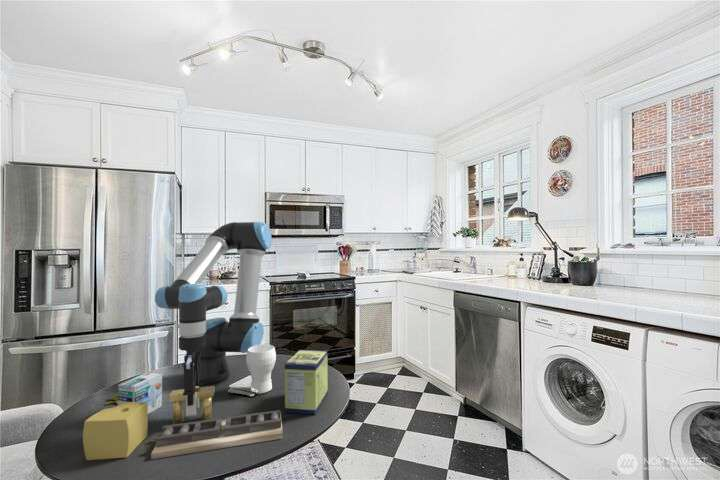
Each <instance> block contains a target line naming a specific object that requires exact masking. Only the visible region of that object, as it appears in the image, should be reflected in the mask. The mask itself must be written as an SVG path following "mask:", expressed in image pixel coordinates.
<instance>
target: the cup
mask: <svg viewBox="0 0 720 480" xmlns="http://www.w3.org/2000/svg"><path fill="white" fill-rule="evenodd" d="M245 356H246V357H245V363H246V366H247V369H248V371H249V373H250V377H251V382H250V388H251V387H252V388H254V389H257V390H258V393H257V394H263V393H268V392H270V391H271V390H272V389H273V384H272V379H271V377H272V371H273V369H274V367H275V363H276V360H277V353H276V347H275V346H274V345H271V344H260V345H257V346H253V347H250V348H249V349H248V351H247V353H246V355H245Z"/></svg>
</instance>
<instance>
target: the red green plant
mask: <svg viewBox="0 0 720 480" xmlns="http://www.w3.org/2000/svg"><path fill="white" fill-rule="evenodd" d="M108 400H109V401H108ZM106 401H107V402H106V403H105V404H104V406H106V405H110V404H114V403H116V404H117V405H116V404H115V405H116V406H118V393H116V394H115V395H113V396H111V397H109V398H107V399H106Z"/></svg>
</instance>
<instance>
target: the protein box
mask: <svg viewBox="0 0 720 480" xmlns="http://www.w3.org/2000/svg"><path fill="white" fill-rule="evenodd" d="M328 376H329V375H328V350H318V349H316V350H314V349H313V350H312V349H299V350H298V351H297V352H296V353H295V354H294V355H293V356H292V357H291V358H290V359H288V360H287V361H286V362H285V363H284V413H289V414H303V415H304V414H305V415H316V414H317V413H318V411H319V409H320V408H321V406H322V405H323V402H324V401H325V399H326V397H327V396H328V394H329V393H328V386H329V385H328V382H329V381H328V380H329V379H328Z"/></svg>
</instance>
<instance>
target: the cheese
mask: <svg viewBox="0 0 720 480" xmlns="http://www.w3.org/2000/svg"><path fill="white" fill-rule="evenodd" d="M148 415H149V414H148V407H147V402H127V403H122V404H120V405H116V406H114V407H107V408H104V409H102V410H99V411H98V412H96V413H94V414H92V415H91V416H90V417H88V418H87V419H85V420H84V424H83V430H82V443H83V452H84V456H85V460H86V461H97V460H110V459H112V460H113V459H122V458H123V459H125V458H128V457H129V456H130V455H131V454H132V453H133V452H134V450H135V449H136V448H137V447H138V446H139V445H140V444H141V443H142V442H143V441H144V440H145V439H146V438H147V436H148V426H149V425H148V423H149V422H148V420H149V419H148V418H149V417H148Z"/></svg>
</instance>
